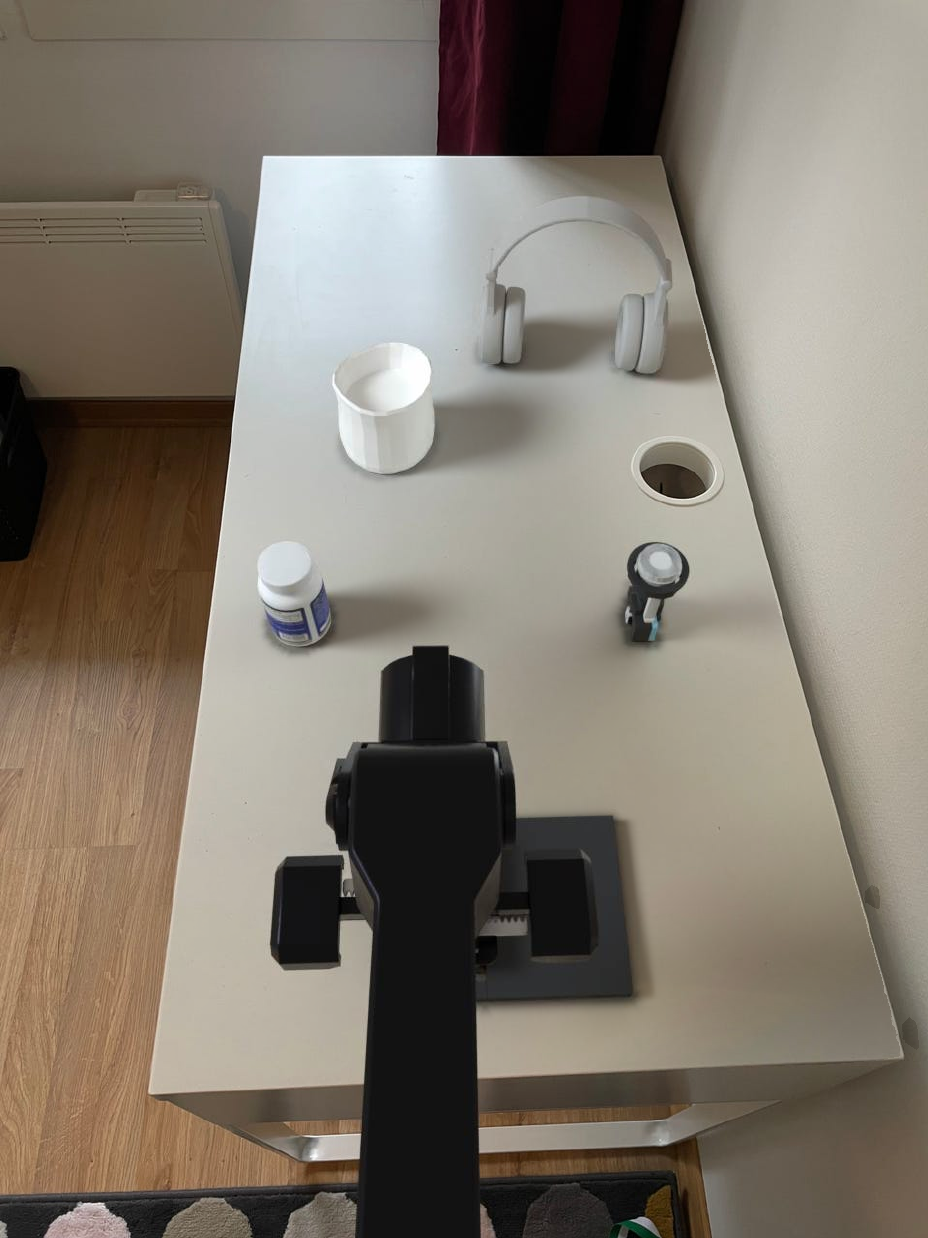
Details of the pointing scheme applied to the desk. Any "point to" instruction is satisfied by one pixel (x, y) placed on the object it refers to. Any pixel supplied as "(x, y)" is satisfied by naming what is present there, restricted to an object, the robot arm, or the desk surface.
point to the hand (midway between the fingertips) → (437, 940)
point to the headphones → (637, 316)
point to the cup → (385, 406)
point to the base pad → (610, 961)
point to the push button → (652, 585)
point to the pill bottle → (293, 594)
